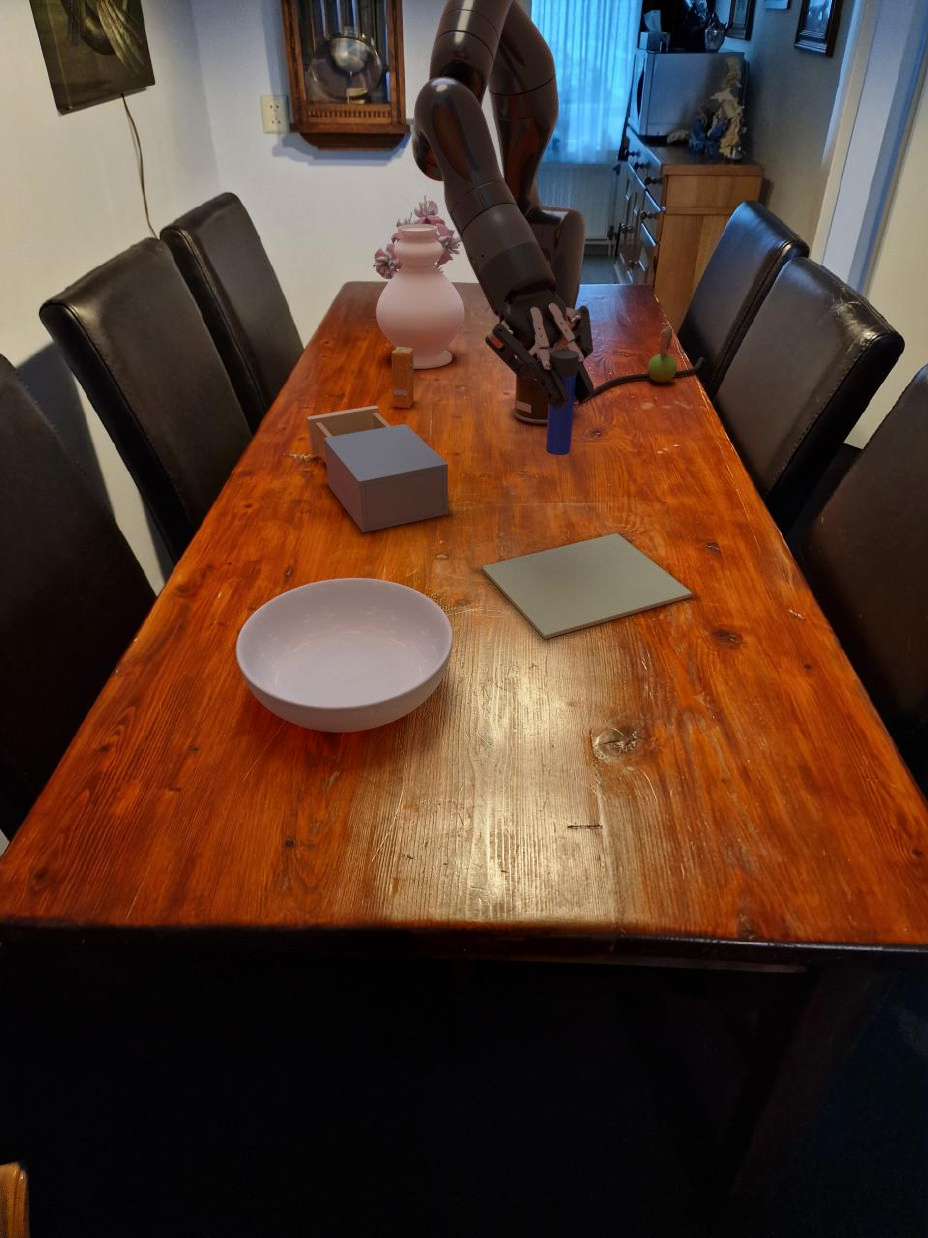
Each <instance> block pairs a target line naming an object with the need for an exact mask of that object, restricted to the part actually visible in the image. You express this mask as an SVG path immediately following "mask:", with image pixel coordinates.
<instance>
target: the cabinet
mask: <svg viewBox="0 0 928 1238" xmlns="http://www.w3.org/2000/svg"><path fill="white" fill-rule="evenodd" d="M323 439H324V447H325V457H326V463H325V465H326V466H325V467H326V473H327V474H326V475H327V483H328V485H327V486H328V488H329V489H330V490H331V492H332V493H333V494H334V496H335V497H336V499H338V501H339V503H340V504H341V505H342V506H343V508H344V509H345V510H346V512H347V513H348V515H349V516H350V517H351V518H352V520H353V521H354V523H355V524H356V525H357V527H358V528H359V529H360V531H361V532H362V533H363V534H364V533H369V532H373V531H378V530H383V529H387V528H392V527H397V526H400V525H405V524H410V523H414V522H420V521H423V520H428V519H433V518H438V517H442V516H446V515H449V464H448V462H446V461H445V459H443V458H442V456H440V455H439V454H438V453H437V452H436V451H435V450H434V449H433V448H432V447H431V446H429V445H428V444H427V443H426V442H425V441H424V440H423V439H422V438H421V437H420V436H419V435H418V434H417V433H416V432H415V431H414V430H413V429H411V428H410V426H408V425H407V424H406V423H401V424H396V425H391V426H390V427H384V428H379V429H373V430H367V431H361V432H356V433H350V434H344V435H338V436H333V437H327V438H323Z"/></svg>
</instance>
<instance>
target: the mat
mask: <svg viewBox="0 0 928 1238" xmlns="http://www.w3.org/2000/svg"><path fill="white" fill-rule="evenodd" d="M481 571H482V572H483V574H485V575H486V577H487V578H488V579H489V580H490V581H491V583H492V584H493V585H495V586H496V588H497V589H498V590H499V591H500V592H501V593H502V594H503V595H504V597H505V598H506V599H507V600H508V602H510V603H511V605H513V606H514V607H515V609H516V610H517V611H518V612H519V614H521V615H522V616H523V618H525V620H526V621H527V622H528V623H529V624H530V625H531V626H532V627H533V628H534V629H535V631H537V633H538V634H539V635H540V636H541V637H542V638H543V639H544V640H549V639H551V638H554V637H558V636H561V635H564V634H569V633H572V632H575V631H578V630H582V629H586V628H589V627H592V626H596V625H600V624H603V623H606V622H610V621H613V620H617V619H621V618H623V617H627V616H631V615H634V614H638V613H640V612H644V611H649V610H650V609H655V608H658V607H661V606H665V605H669V604H671V603H675V602H679V601H682V600H686V599H690V598H692V597H693V592H692V591H691V590H690V589H688V588H687V587H686V586H684V585H683V584H682V583H680V581H678V580H677V579H676V578H675V577H674V576H672V575H670V573H668V572H667V571H666V570H665V569H663V568H662V567H661V566H659V565H658V564H657V563H655V562H654V560H652V559H650V558H649V557H648V556H647V555H645V553H643V552H642V551H640V550H639V549H638V548H636V547H635V546H634V545H633V544H632V543H631V542H629V541H628V540H627V539H626V538H625V537H623V536H622V535H620V534H619V533H618V532H615V533H611V534H606V535H603V536H599V537H594V538H591V539H587V540H586V539H585V540H583V541H578V542H574V543H570V544H566V545H563V546H558V547H554V548H550V549H546V550H542V551H541V550H540V551H538V552H533V553H529V554H526V555H521V556H517V557H513V558H509V559H505V560H501V561H497V562H494V563H489V564H485V565H481Z"/></svg>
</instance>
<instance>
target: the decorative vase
mask: <svg viewBox="0 0 928 1238" xmlns="http://www.w3.org/2000/svg"><path fill="white" fill-rule="evenodd" d="M397 233H400V234H402V235H403V237H402V238H401V239H400V240H399V241H398V242H397V241H396V243H395V244H396V245H395V247H394V254H395V256H396V258H397V259H398V260H399V261H400V262H401V263H402V264H403V266H402V267H401V268H400V269H397V271H398V272H397V273H396V274H395V275H394V276H393V277H392V279H389V280H388V282H387V284H386V285H385V287H384V288H383V290H382V291H381V294H380V296H379V298H378V300H377V303H376V308H375V317H376V318H375V319H376V324H377V325H378V327H379V329H380V331H381V332H382V334H383V335H384V336H385V338H386V339H387V340H388V341H389V343H391V344H392V345H393V347H394V348H395V349H396V347H406V348H411V349H413V369H419V370H421V369H423V370H424V369H434V368H440V367H444V366H445V365H448V364H449V363H451V362H452V361H453V355H452V353H451V352H450V351H448V350H447V348H448V347H449V346H450V345H451V343H452V342H453V341H454V339H455V338H456V337H457V335H458V334H459V332H461V331H460V330H461V329H462V327H463V325H464V322H465V314H466V313H465V306H464V302H463V299H462V297H461V295H460V293H459V291H458V290H457V289H456V287H455V285H454V284H453V283H452V282H451V280H450V279H449V278H448V277H447V276H446V275H445V274H444V272H443V273H442V272H441V269H440V270H439V268H437V267H436V266H435V265H436V264H437V261H438V260H439V259H440V257H441V256H442V253H443V248H442V245H441V244H440V242H439V241H438V240H436V239H435V238H434V237H433V234H435V233H437V234H438V230H437V226H434V225H429V224H412V223H411V224H409V225H402V226H399V227H398V228H397Z"/></svg>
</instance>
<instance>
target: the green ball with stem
mask: <svg viewBox="0 0 928 1238" xmlns="http://www.w3.org/2000/svg"><path fill="white" fill-rule="evenodd" d="M661 326H662V327H664V328H662V329H661V331H660V340H659V353H657V354H655V355H654V356H652V357H651V359H650V360H649V362H648V363H647V367H646V369H647V374H648V375H649V377H650V379H651V380H652V381H653V382H655V383H658V384H664V383H668V382H669V381H670V380H672V379H673V378H674V377H675V376H674V375H675V373H676V371H677V369H678V368H677V366H678V365H677V362H676V360H675V358H674V357H673V356H672V355H670V354H669V349H670V347H671V344H672V340H673V328H672V327H671V326H669V323H665V322H662V323H661Z"/></svg>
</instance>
